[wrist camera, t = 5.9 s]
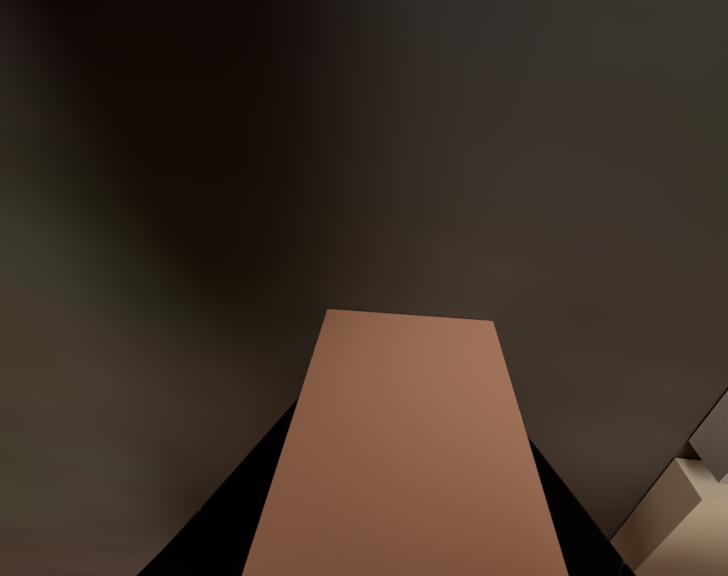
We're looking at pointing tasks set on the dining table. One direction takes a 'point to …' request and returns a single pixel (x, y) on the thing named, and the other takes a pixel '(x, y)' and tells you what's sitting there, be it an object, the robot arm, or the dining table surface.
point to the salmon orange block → (406, 459)
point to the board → (684, 511)
